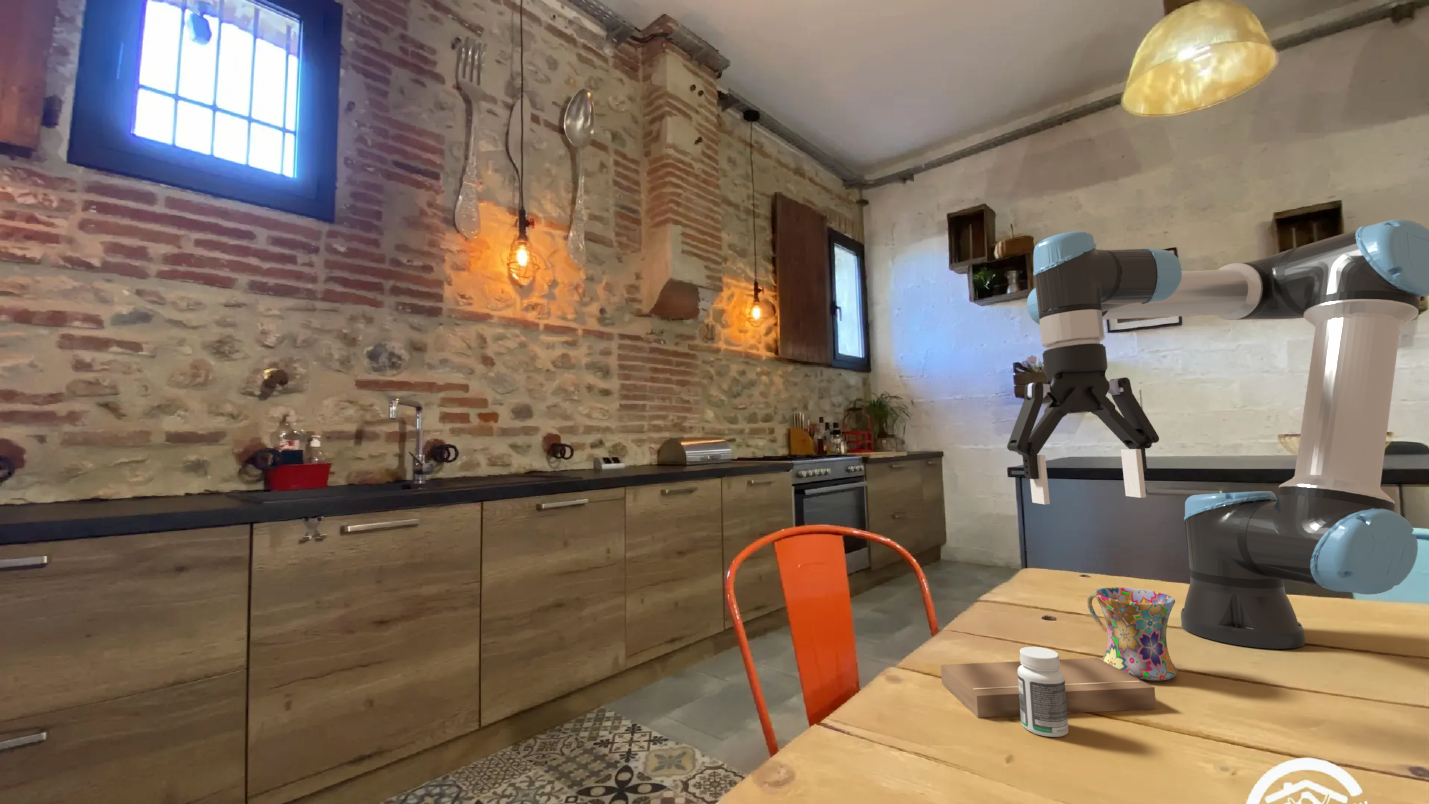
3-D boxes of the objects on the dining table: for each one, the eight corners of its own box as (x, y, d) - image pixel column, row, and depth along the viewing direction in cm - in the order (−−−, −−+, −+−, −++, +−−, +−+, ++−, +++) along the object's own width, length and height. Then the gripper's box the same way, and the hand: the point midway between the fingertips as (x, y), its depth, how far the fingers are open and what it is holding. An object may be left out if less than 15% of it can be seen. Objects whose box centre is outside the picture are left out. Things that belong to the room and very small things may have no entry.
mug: (1199, 680, 79) (1192, 599, 80) (1146, 690, 76) (1139, 606, 77) (1116, 651, 90) (1110, 581, 91) (1067, 659, 88) (1062, 586, 89)
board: (1098, 676, 81) (1097, 657, 81) (1156, 708, 71) (1154, 686, 71) (941, 683, 80) (940, 664, 80) (977, 717, 70) (976, 695, 70)
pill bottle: (1078, 733, 66) (1073, 655, 66) (1047, 742, 64) (1041, 662, 65) (1041, 715, 70) (1036, 643, 71) (1011, 723, 68) (1006, 648, 69)
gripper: (1136, 346, 86) (1152, 491, 85) (972, 354, 85) (986, 503, 83) (1180, 337, 79) (1198, 496, 77) (1001, 345, 77) (1016, 509, 76)
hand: (1088, 500), depth 80 cm, fingers open, 13 cm apart
